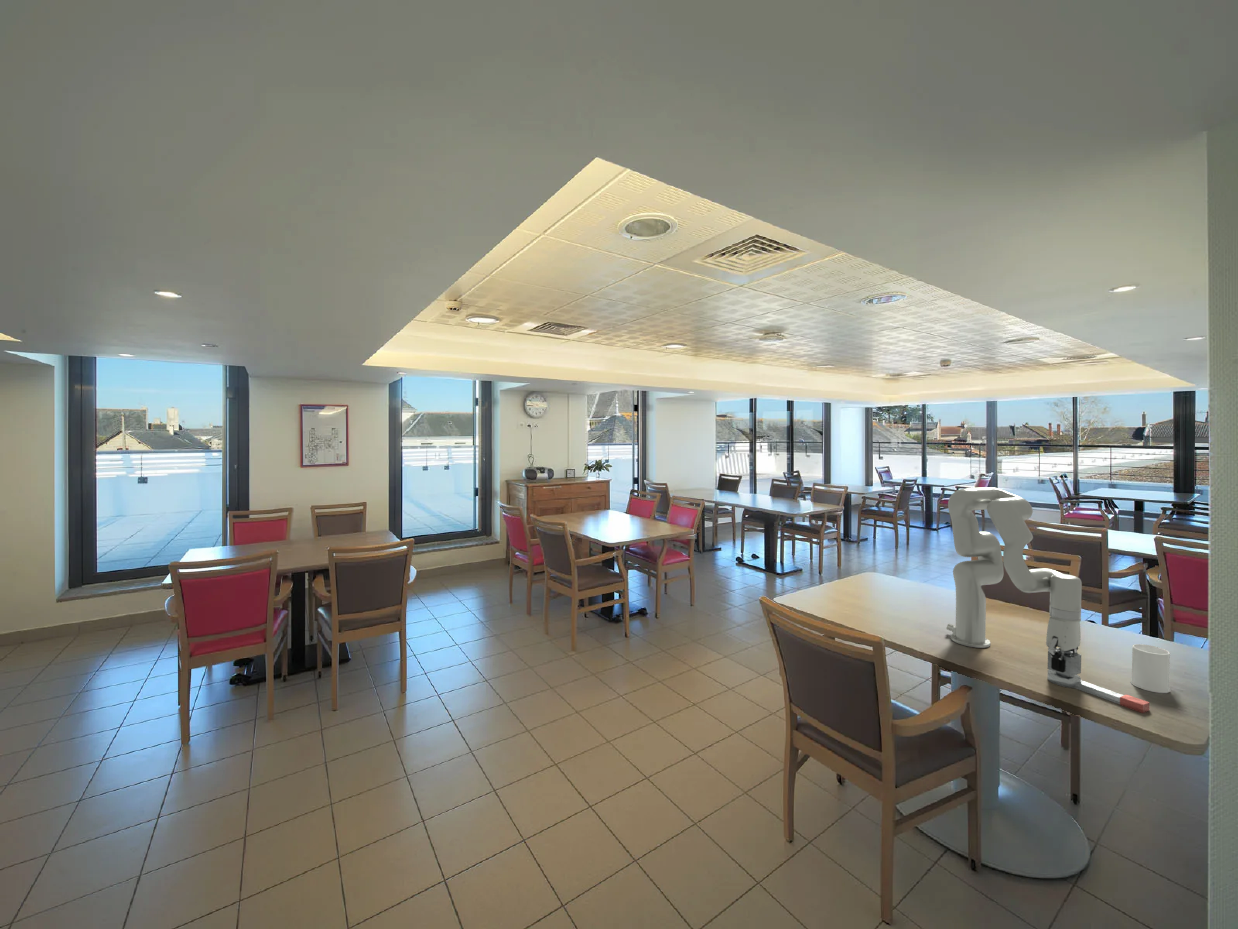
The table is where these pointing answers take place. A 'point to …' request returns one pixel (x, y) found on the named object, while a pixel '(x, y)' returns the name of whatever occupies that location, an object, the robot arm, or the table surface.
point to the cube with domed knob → (1068, 663)
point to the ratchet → (1098, 691)
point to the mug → (1150, 668)
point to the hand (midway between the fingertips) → (1063, 668)
